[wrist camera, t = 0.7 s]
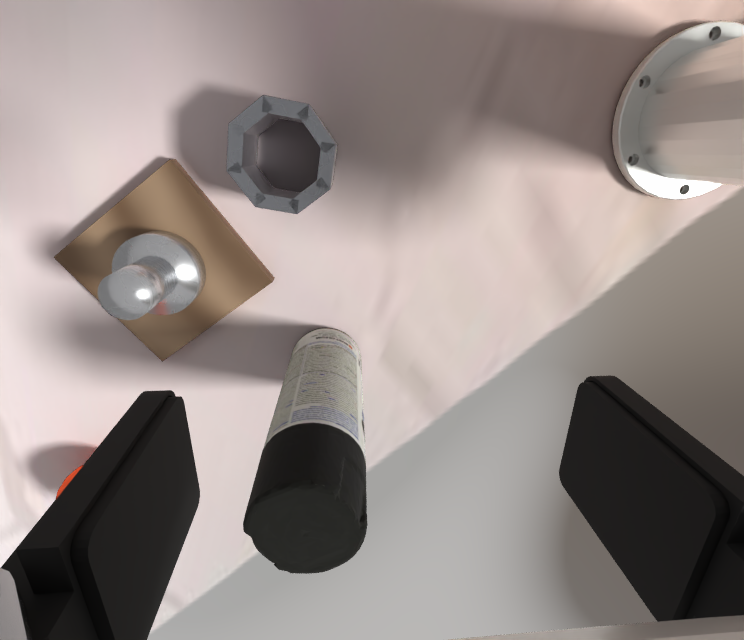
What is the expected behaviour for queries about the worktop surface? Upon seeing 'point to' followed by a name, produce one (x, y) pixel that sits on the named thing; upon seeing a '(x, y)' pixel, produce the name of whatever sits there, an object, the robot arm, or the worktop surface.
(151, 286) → the grey rounded fixture
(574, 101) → the worktop surface
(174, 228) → the base plate
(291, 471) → the spray can
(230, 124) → the octagonal pot
